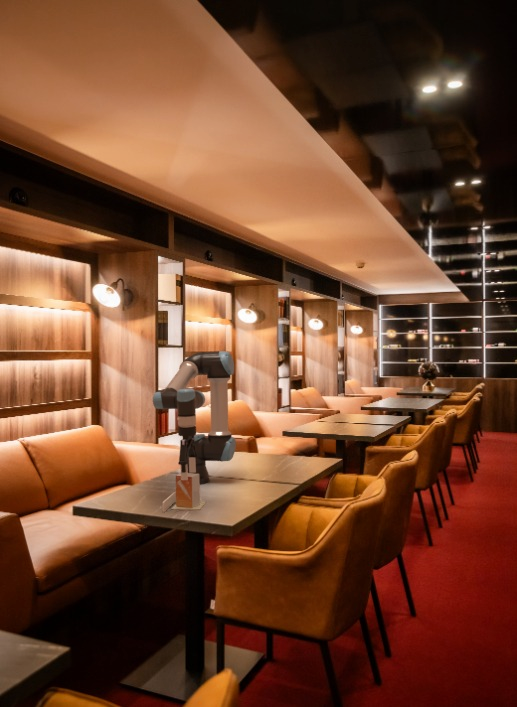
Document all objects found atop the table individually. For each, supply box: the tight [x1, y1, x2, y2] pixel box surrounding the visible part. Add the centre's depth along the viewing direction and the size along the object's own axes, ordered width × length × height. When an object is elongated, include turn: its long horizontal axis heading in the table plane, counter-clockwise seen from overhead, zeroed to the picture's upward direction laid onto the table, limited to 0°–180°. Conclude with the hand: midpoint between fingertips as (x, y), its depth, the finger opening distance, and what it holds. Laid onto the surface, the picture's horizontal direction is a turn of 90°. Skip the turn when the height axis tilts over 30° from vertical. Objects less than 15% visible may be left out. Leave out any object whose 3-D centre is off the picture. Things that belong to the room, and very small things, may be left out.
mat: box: [170, 500, 207, 511], centre depth 248 cm, size 12×12×1 cm
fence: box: [161, 490, 176, 513], centre depth 249 cm, size 20×1×4 cm, turn 172°
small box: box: [175, 473, 201, 508], centre depth 247 cm, size 8×6×13 cm
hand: (188, 476), depth 249 cm, fingers open, 13 cm apart
